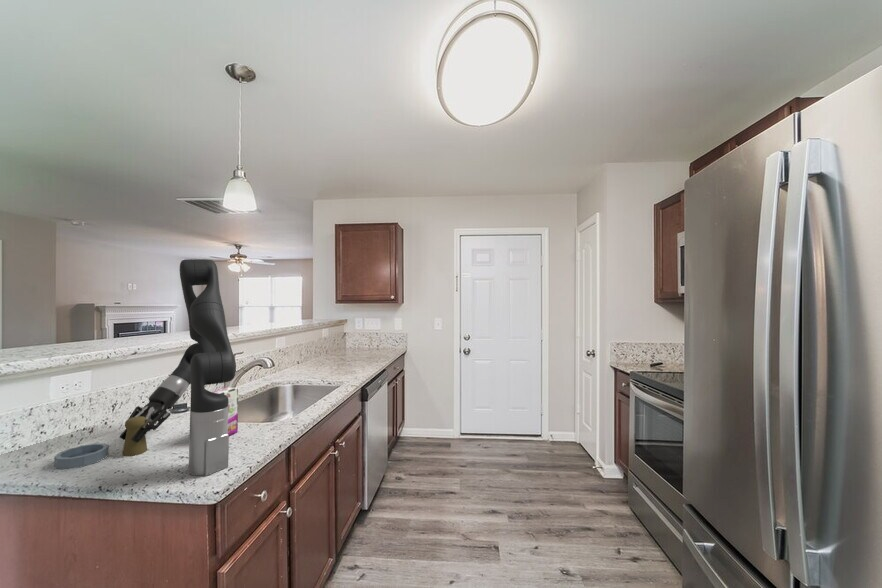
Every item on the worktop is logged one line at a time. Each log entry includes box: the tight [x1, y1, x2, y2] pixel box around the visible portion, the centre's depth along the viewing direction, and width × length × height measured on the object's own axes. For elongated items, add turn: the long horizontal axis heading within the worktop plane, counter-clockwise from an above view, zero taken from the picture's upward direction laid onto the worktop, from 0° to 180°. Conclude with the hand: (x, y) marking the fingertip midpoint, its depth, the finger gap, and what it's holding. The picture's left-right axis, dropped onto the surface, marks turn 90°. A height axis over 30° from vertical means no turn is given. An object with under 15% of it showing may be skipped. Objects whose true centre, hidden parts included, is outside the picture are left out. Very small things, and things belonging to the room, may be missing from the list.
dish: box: [53, 442, 110, 470], centre depth 104 cm, size 11×11×3 cm
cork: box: [121, 416, 148, 457], centre depth 110 cm, size 6×6×11 cm
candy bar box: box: [212, 386, 239, 437], centre depth 123 cm, size 11×5×16 cm, turn 171°
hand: (128, 439), depth 108 cm, fingers open, 5 cm apart
